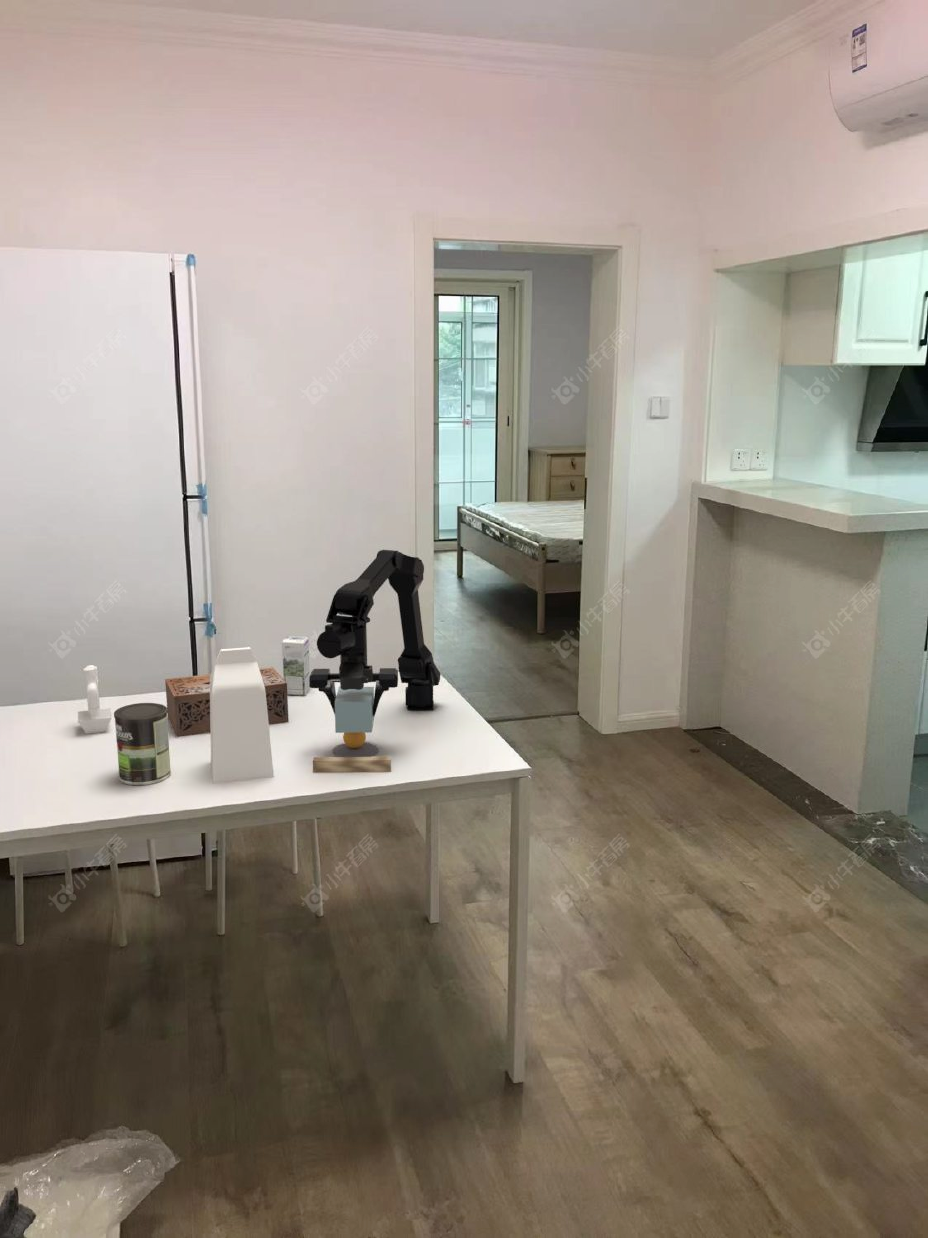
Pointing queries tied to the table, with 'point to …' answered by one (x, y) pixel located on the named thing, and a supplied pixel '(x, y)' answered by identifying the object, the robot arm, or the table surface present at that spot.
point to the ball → (354, 739)
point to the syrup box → (296, 665)
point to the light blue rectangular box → (354, 710)
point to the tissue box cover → (193, 702)
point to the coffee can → (142, 743)
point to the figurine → (93, 705)
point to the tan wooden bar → (351, 764)
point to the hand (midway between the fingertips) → (355, 715)
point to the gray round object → (356, 750)
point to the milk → (238, 718)
